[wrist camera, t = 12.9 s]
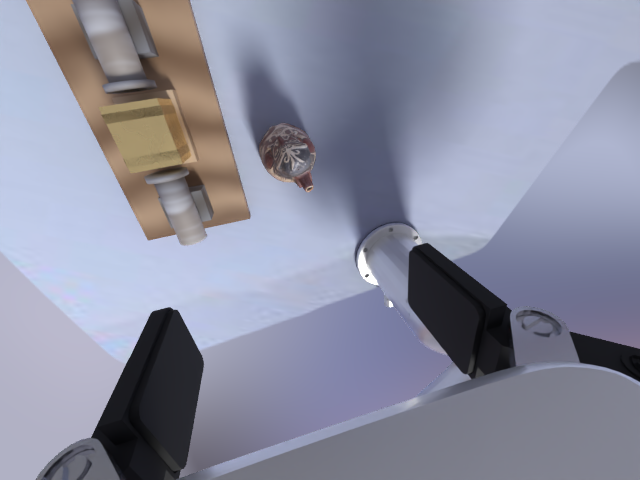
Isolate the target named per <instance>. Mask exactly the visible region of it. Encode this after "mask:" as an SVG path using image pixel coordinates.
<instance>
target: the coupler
mask: <svg viewBox="0 0 640 480" xmlns="http://www.w3.org/2000/svg"><path fill="white" fill-rule="evenodd" d="M98 108H99V110H100V112H101V114H102V117H103V119H104V122H105V124H107V126H108V128H109V130H110V132H111V134H112V137H113V139H114V141H115V143H116V145H117V147H118V149H119V151H120V153H121V155H122V157H123V160H124V162H125V164H126V166H127V168H128V169H129V171H130V173H137V172H142V171H147V170H153V169H158V168H163V167H168V166H174V165H179V164H183V163H184V162H185V161H186V160H187V159H189V158H190V157H191V156H192V155H191V153H190V149H189V146H188V143H187V142H186V139H185V136H184V134H183V131H182V128H181V125H180V123H179V120H178V117H177V115H176V110H175V108H174V105H173V104H172V101H171V99H162V98H155V99H148V100H142V101H135V102H129V103H122V104H116V105H110V106H103V107H98Z"/></svg>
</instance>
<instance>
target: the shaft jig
mask: <svg viewBox="0 0 640 480" xmlns="http://www.w3.org/2000/svg"><path fill="white" fill-rule="evenodd" d="M26 1H27V3H28V5H29V7H30V9H31V11H32V13H33V15H34V17H35V19H36V21H37V23H38V25H39V27H40V29H41V31H42V33H43V35H44V37H45V39H46V41H47V43H48V45H49V47H50V49H51V50H52V52H53V54H54V56H55V58H56V60H57V62H58V64H59V66H60V68H61V70H62V72H63V74H64V76H65V78H66V80H67V82H68V84H69V86H70V88H71V90H72V92H73V94H74V96H75V98H76V100H77V102H78V104H79V106H80V108H81V109H82V111H83V113H84V115H85V117H86V119H87V121H88V123H89V125H90V127H91V129H92V131H93V133H94V135H95V137H96V139H97V141H98V143H99V145H100V147H101V149H102V151H103V153H104V155H105V157H106V159H107V161H108V163H109V165H110V166H111V168H112V170H113V172H114V174H115V176H116V178H117V180H118V182H119V184H120V186H121V188H122V190H123V192H124V194H125V196H126V198H127V200H128V202H129V204H130V206H131V208H132V210H133V212H134V214H135V216H136V218H137V220H138V222H139V224H140V225H141V227H142V229H143V231H144V233H145V235H146V237H147V239H148V240H152V239H157V238H162V237H166V236H171V235H177V237H178V239H179V242H180V244H181V245H184V246H188V245H193V244H196V243H199V242H201V241H203V240H204V239H205V238H206V237H207V234H206V232H205V229H204V228H208V227H213V226H218V225H222V224H227V223H232V222H236V221H241V220H246V219H250V212H249V208H248V205H247V201H246V197H245V194H244V190H243V187H242V183H241V180H240V176H239V173H238V169H237V166H236V162H235V159H234V155H233V152H232V148H231V144H230V141H229V137H228V134H227V130H226V127H225V123H224V120H223V116H222V113H221V109H220V106H219V102H218V99H217V95H216V91H215V88H214V84H213V81H212V77H211V74H210V70H209V67H208V63H207V60H206V56H205V53H204V49H203V46H202V42H201V39H200V35H199V31H198V28H197V24H196V21H195V17H194V14H193V10H192V7H191V3H190V0H26ZM155 98H162V99H171V101H172V104H173V105H174V108H175V110H176V115H177V117H178V120H179V123H180V125H181V128H182V131H183V134H184V136H185V139H186V142H187V143H188V146H189V149H190V153H191V155H192V156H191V157H190V158H189V159H187V160H186V161H185V162H184V163H183V164H179V165H174V166H168V167H163V168H158V169H153V170H147V171H142V172H137V173H130V171H129V169H128V168H127V166H126V164H125V162H124V160H123V157H122V155H121V153H120V151H119V149H118V147H117V145H116V143H115V141H114V139H113V137H112V134H111V132H110V130H109V128H108V126H107V124H105V122H104V119H103V117H102V114H101V112H100V110H99V108H98V107H103V106H110V105H116V104H122V103H129V102H135V101H142V100H148V99H155Z"/></svg>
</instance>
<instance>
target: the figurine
mask: <svg viewBox="0 0 640 480" xmlns="http://www.w3.org/2000/svg"><path fill="white" fill-rule="evenodd" d="M259 153H260V157H261V160H262V163H263V165H264V167H265V169H266V170H267V171H268V172H269V173H270V174H271V175H272V176H273V177H274V178H276V179H278V180H280V181H283V182H295V183H296V184H297V185H298V186H299V187H300V188H301V187H303V188H304V190H305V191H306V192H309V191H311V190H312V189H313V183H312V176H311V173H310V172H311V170H312V168H313V166H314V163H315V157H316V153H315V147H314V145H313V143H312V142H311V140H310V138H309V136H308V135H307V134H306V132H304V131H303V130H301V129H300V128H297V127H295V126H292V125H290V124H286V123H281V124H279V125H276V126H272V127H270V128H269V130H268V131H267V133H266V134H265V135H264V138H263V139H262V140H261V142H260V144H259Z"/></svg>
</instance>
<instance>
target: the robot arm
mask: <svg viewBox="0 0 640 480" xmlns="http://www.w3.org/2000/svg"><path fill="white" fill-rule="evenodd" d="M356 264H357V268H358V270H359V273H360V274H361V275H362V277H363V278H364V279H365V280H366V281H368V282H369V283H371V284H374V285H379V286H380V288H381V289H382V291H383V293H384V294H385V295H384V304H385V306H387V307H393V306H394V307H395V308H396V310H397V311H398V313H399V314H400V316H401V317H402V318H403V320H404V321H405V323H406V324H407V325H408V327H409V328H410V330H411V331H412V332H413V334H414V335H415V336H416V338H417V339H418V340H419V341H420V342H421V343H422V344H423V345H425V346H426V347H428V348H429V349H431V350H433V351H435V352H438V353H441V354H444V355H448V356H449V357H450V358H451V360H452V361H453V362H452V363H451V364H450V365H449V366H448V367H447V369H446V370H445V371H444V372H442V373H441V374H440V375H439V376H438V377H437V378H436V379H434V380H433V382H431V383H430V384H429V385H428V386H427V387H425V388H424V389H423V390H422V391H421V392H420V393H419V394H418V395H417V396H416V397H415V398H413V399H410V400H407V401H404V402H401V403H398V404H395V405H392V406H389V407H386V408H383V409H380V410H377V411H374V412H371V413H368V414H365V415H362V416H359V417H356V418H353V419H350V420H347V421H344V422H341V423H338V424H335V425H333V426H329V427H326V428H323V429H320V430H318V431H314V432H312V433H309V434H306V435H303V436H300V437H297V438H294V439H291V440H288V441H286V442H282V443H279V444H276V445H273V446H271V447H268V448H265V449H262V450H259V451H256V452H253V453H250V454H247V455H244V456H241V457H238V458H236V459H233V460H230V461H227V462H224V463H221V464H218V465H216V466H212V467H210V468H207V469H204V470H202V471H199V472H196V473H193V474H190V475H188V476H185V477H182V478H179V475H180V470H181V469H184V467H185V465H186V462H187V457H188V452H189V446H190V440H191V435H192V429H193V424H194V418H195V412H196V406H197V401H198V395H199V390H200V384H201V378H202V373H203V367H204V362H203V358H202V355H201V353H200V352H199V350H198V348H197V346H196V344H195V342H194V340H193V338H192V336H191V334H190V332H189V330H188V329H187V327H186V325H185V323H184V321H183V319H182V317H181V315H180V313H179V312H178V310H173V309H172V308H170V307H168V308H164V309H160V310H156V311H153V312H152V313H151V314H150V317H149V319H148V321H147V323H146V325H145V327H144V329H143V331H142V333H141V336H140V338H139V340H138V342H137V344H136V346H135V348H134V350H133V352H132V354H131V357H130V358H129V360H128V362H127V364H126V366H125V368H124V370H123V372H122V374H121V376H120V378H119V381H118V383H117V385H116V387H115V389H114V391H113V393H112V395H111V398H110V399H109V401H108V403H107V406H106V408H105V410H104V412H103V414H102V416H101V418H100V420H99V422H98V424H97V427H96V429H95V431H94V433H93V435H92V437H91V438H87V439H83V440H80V441H78V442H76V443H74V444H71V445H70V446H69V447H67V448H66V449H64V450H63V451H61V452H60V453H59V454H58V455H56V456H55V457H54V459H52V460H51V461H50V462H49V463H48V464H47V465H46V466H45V468H44V469H43V470H42V471H41V472H40V474H39V475H38V477H37V478H36V480H640V349H638V348H634V347H630V346H626V345H622V344H618V343H614V342H610V341H606V340H602V339H597V338H593V337H589V336H585V335H581V334H577V333H573V332H569V329H568V328H567V326H566V324H565V323H564V322H563V321H562V320H561V319H560V318H558V317H557V316H555V315H554V314H552V313H550V312H548V311H545V310H543V309H539V308H535V307H527V306H526V307H518V308H516V309H514V310H513V311H512V310H510V309H509V308H508V307H507V304H506V303H504V302H503V301H502V300H501V299H499V298H498V297H497V296H495V295H494V294H493V293H492V292H490V291H489V290H488V289H486V288H485V287H484V286H483V285H481V284H480V283H479V282H477V281H476V280H475V279H474V278H472V277H471V276H469V275H468V274H467V273H466V272H465V271H463V270H462V269H461V268H459V267H458V266H457V265H456V264H454V263H453V262H452V261H450V260H449V259H448V258H447V257H445V256H444V255H443V254H441V253H440V252H439V251H437V250H436V249H435V248H434V247H432V246H431V245H430V244H428V243H425V244H422V240H421V237H420V236H419V234H418V233H417V232H416V231H415V230H414V229H413V228H412V227H410V226H408V225H406V224H402V223H390V224H386V225H383V226H380V227H379V228H377V229H375V230H374V231H372V232H371V233H370V234H369V235H368V236H367V237H366V238H365V239H364V240H363V242H362V243H361V245H360V247H359V249H358V252H357V257H356Z"/></svg>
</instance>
